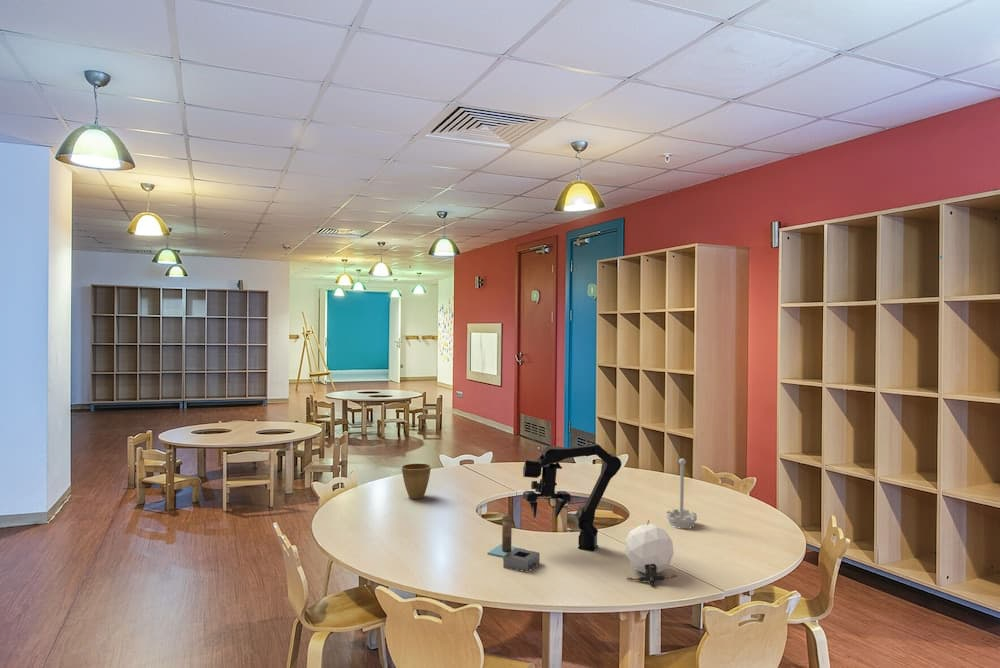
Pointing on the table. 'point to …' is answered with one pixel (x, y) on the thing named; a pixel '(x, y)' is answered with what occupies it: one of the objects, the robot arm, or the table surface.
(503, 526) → the brown wooden pin
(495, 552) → the blue square plate
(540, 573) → the table surface
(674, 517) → the flag stand
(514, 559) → the block
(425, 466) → the plant pot
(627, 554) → the white faceted globe lamp
